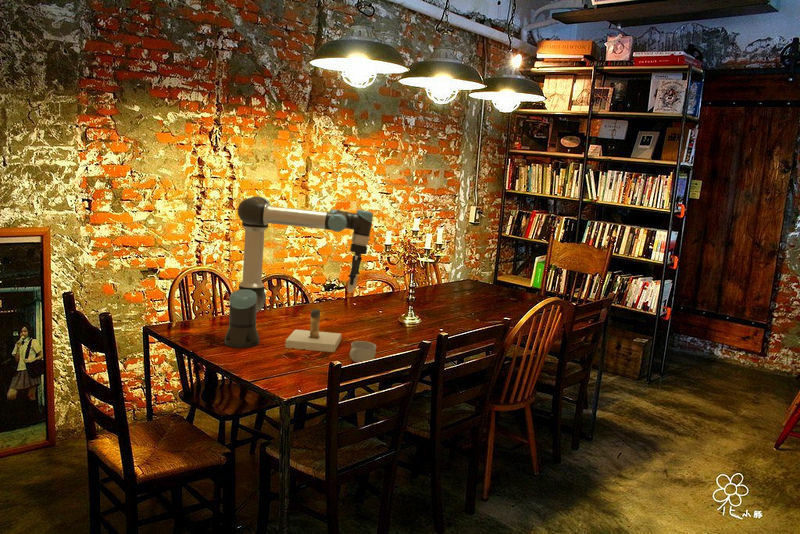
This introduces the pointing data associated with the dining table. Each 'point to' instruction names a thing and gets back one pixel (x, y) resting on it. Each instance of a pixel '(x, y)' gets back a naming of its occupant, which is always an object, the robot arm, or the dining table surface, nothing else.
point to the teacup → (362, 351)
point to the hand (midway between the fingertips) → (351, 289)
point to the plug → (314, 323)
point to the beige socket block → (313, 341)
